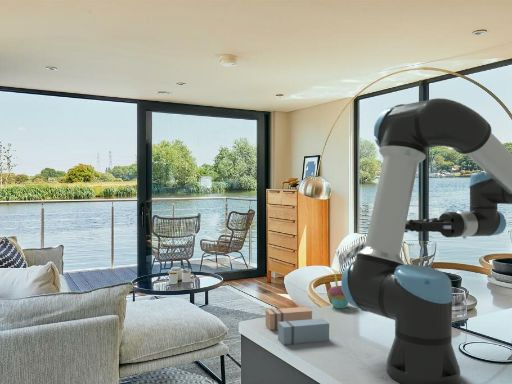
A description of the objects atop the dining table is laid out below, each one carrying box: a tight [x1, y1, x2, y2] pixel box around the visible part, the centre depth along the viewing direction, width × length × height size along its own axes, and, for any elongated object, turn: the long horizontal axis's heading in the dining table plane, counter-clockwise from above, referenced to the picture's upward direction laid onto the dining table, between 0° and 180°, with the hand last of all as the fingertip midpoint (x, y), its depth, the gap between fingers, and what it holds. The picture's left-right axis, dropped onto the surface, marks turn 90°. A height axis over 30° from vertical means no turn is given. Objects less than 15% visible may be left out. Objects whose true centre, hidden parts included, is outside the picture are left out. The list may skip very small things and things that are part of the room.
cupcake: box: [326, 272, 349, 309], centre depth 149 cm, size 9×8×12 cm
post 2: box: [277, 318, 330, 346], centre depth 118 cm, size 5×5×13 cm
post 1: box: [265, 306, 313, 331], centre depth 129 cm, size 5×5×13 cm
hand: (387, 226), depth 123 cm, fingers closed
